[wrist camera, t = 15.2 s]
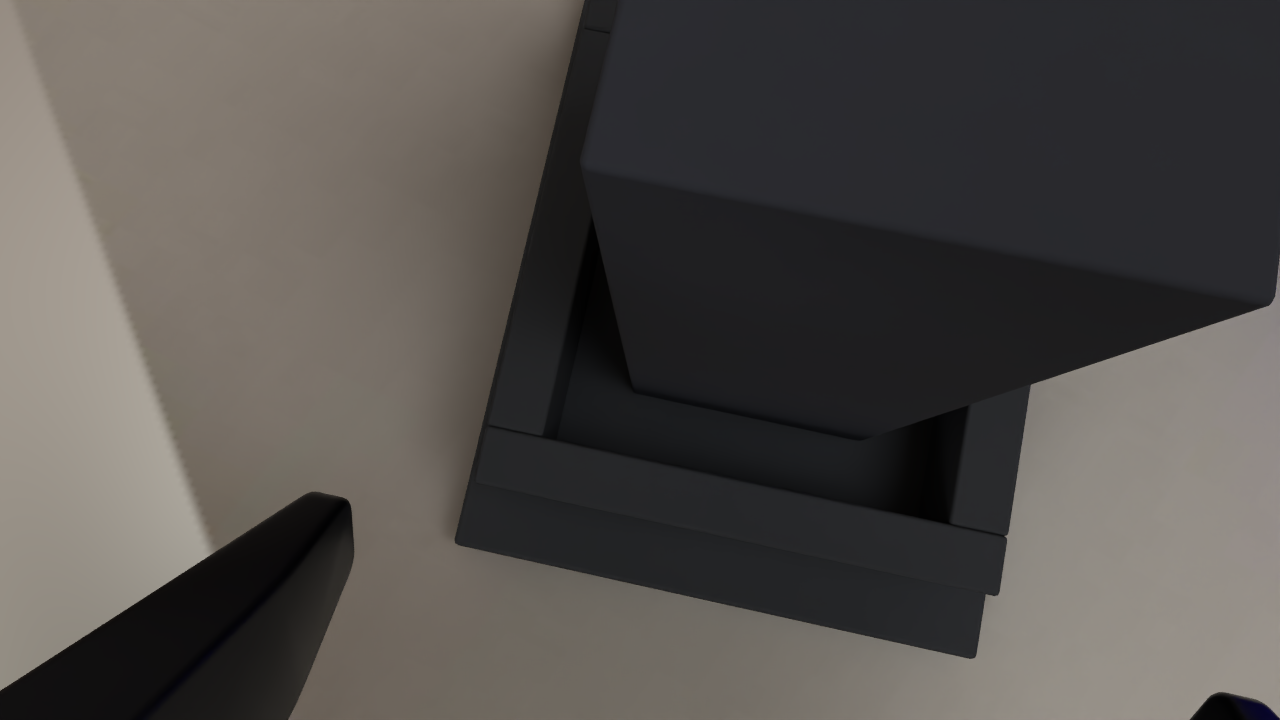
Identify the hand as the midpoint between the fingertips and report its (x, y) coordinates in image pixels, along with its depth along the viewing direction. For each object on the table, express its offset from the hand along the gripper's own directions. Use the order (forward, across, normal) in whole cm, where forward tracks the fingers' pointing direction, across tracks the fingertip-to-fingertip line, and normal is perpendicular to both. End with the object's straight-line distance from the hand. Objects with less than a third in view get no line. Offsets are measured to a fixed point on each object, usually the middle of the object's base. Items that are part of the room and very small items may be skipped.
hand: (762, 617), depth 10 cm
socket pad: (+10, 0, +2) cm, 10 cm away
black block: (+9, 0, +2) cm, 10 cm away
